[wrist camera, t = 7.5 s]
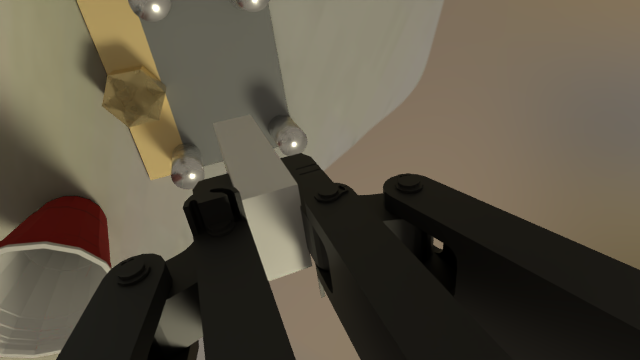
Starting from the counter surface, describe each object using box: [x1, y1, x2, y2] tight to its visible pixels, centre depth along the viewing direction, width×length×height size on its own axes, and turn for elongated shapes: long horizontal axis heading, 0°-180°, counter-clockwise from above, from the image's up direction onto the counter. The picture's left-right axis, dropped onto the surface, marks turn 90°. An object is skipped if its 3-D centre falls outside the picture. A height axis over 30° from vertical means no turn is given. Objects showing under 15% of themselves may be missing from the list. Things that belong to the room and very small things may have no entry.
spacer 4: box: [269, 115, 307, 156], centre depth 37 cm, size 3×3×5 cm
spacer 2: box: [171, 143, 204, 189], centre depth 35 cm, size 3×3×5 cm
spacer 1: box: [128, 0, 171, 22], centre depth 29 cm, size 3×3×5 cm
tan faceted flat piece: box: [102, 65, 166, 127], centre depth 32 cm, size 5×4×2 cm
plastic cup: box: [0, 196, 112, 358], centre depth 31 cm, size 11×11×12 cm
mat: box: [77, 0, 289, 180], centre depth 34 cm, size 15×17×1 cm
